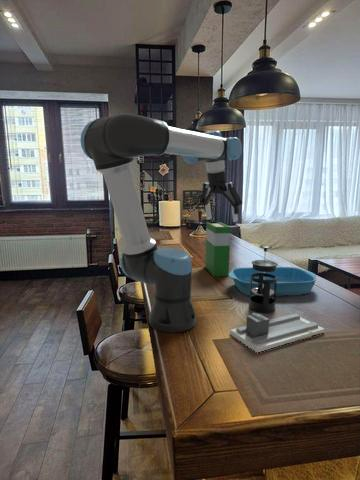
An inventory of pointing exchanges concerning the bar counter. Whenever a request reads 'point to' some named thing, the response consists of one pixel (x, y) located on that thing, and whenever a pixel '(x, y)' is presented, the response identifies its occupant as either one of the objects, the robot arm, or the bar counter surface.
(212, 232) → the hardback book
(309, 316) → the bar counter surface
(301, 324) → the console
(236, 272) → the casserole dish
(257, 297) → the french press
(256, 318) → the fader tab
